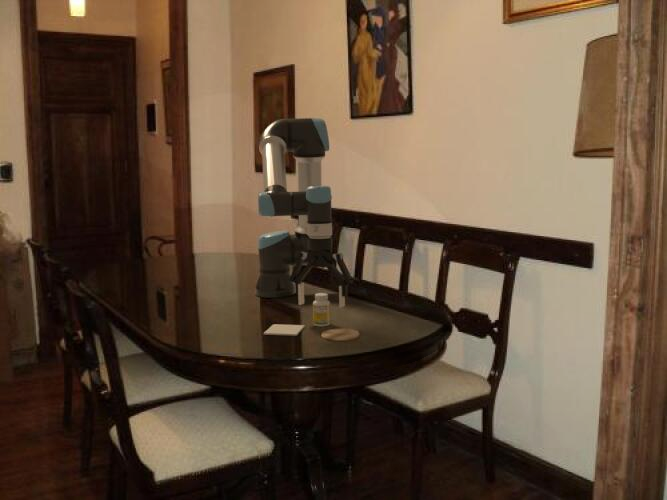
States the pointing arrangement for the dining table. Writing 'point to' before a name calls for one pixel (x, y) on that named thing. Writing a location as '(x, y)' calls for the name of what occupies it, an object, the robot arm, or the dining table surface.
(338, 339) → the cork coaster
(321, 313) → the supplement bottle
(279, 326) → the felt mat
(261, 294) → the robot arm
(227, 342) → the dining table surface
